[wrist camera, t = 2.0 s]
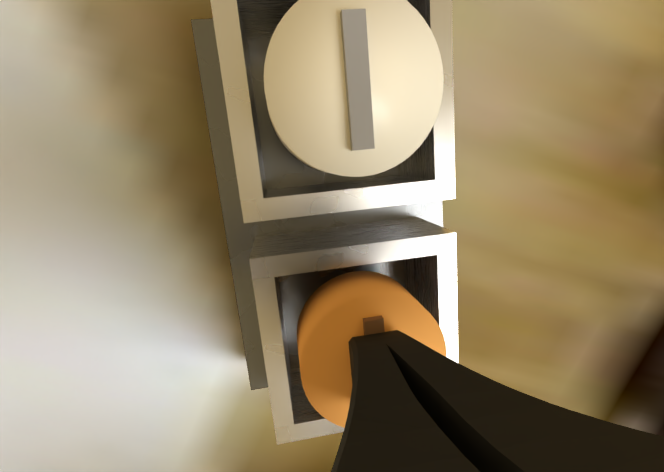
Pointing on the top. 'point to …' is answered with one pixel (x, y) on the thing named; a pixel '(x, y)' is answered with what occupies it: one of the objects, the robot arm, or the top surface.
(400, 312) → the orange knob
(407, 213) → the knob mount
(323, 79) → the cream knob
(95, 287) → the top surface
